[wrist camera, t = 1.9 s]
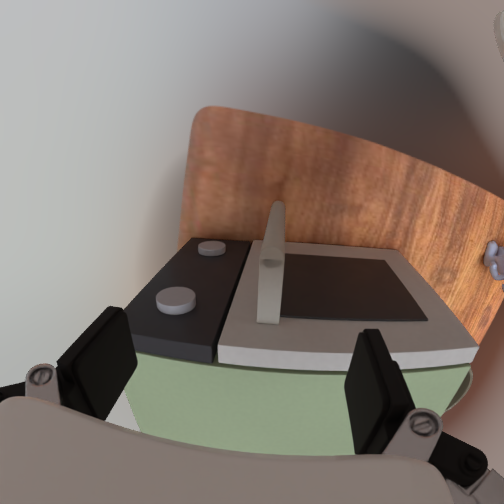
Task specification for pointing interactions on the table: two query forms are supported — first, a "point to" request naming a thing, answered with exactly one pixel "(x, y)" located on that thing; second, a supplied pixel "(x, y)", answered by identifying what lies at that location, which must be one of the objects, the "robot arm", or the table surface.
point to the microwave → (237, 369)
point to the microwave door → (335, 307)
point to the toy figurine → (495, 260)
